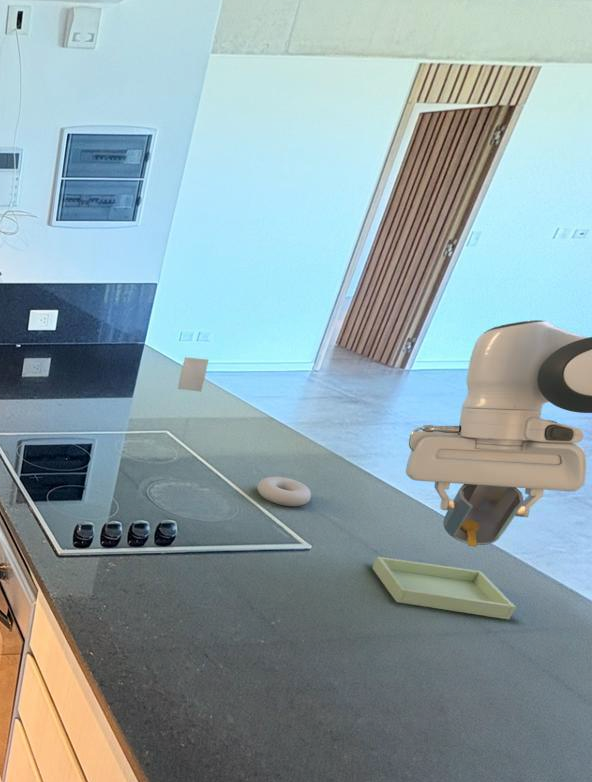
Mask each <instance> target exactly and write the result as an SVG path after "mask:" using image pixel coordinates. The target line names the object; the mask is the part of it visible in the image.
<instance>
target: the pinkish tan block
mask: <svg viewBox="0 0 592 782" xmlns="http://www.w3.org/2000/svg"><path fill="white" fill-rule="evenodd" d="M208 364H209V359H208V358H207V359H206V358H198V357H197V358H195V357H188V356H187V357H184V359H183V364H182V366H181V367H182V368H181V372H180V376H179V381H178V385H177V390H183V391H184V390H185V391H193V392H202V391H203V385H204V382H205V378H206V374H207V369H208Z"/></svg>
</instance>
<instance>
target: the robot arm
mask: <svg viewBox="0 0 592 782" xmlns="http://www.w3.org/2000/svg"><path fill="white" fill-rule="evenodd" d="M471 351H472V352H471V355H470V359H469V363H468V367H467V373H466V380H465V382H466V385H467V386H466V387H467V395H466V397H465V399H464V401H463V403H462V406H461V410H460V418H459V422H458V423H459V424H458V425H434V424H425V425H422V426H421V427H417V428H415V429H414V430H412V431H411V433H410V434H409V439H408V447H409V449H410V453H409V456H408V459H407V463H406V467H405V475H406V476H407V477H408V478H409V479H411V480H413V481H418V482H431V483H434V486H433V487H434V489H435V491H436V492H437V495H438V497H439V498H440V499H441V500H440V507H439V508H440V510H441V511H448V510H449V511H455V505H456V500H454V498H450V497H449V495H448V494H447V492H446V490H449V489H450V485H451V484H458V485H463V484H472V485H486V486H500V487H515V488H517V489H525V491H524V494H526V495H528V496H526V497H525V499H523V500H524V504H523V505H522V507H521V508H520V510H519V511H518V512H517V514H516V515H515V517H520V518H528V517H529V514H530V510H531V507H533V506H534V505H535V504H537V502H538V501H540V500H541V499H542V498H543V495H544V491H545V490H546V491H558V492H577V491H579V490H580V489H581V488H582V487H584V485H585V482H586V477H587V455H586V451H585V450H584V448H583V447H582V446H580V445H579V444H578V443H580V442H582V441H583V438H584V434H585V432H584V430H583V429H581V428H579V427H575V426H571V425H567V424H563V423H559V422H557V421H555V420H551V419H544V418H542V417H541V415H542V410H543V406H544V404H546V403H550V404H552V405H553V406H555V407H557V408H559V409H562V410H565V411H567V412H568V411H569V412H573V413H579V414H592V336H589V337H588V336H584V335H580V334H577V333H574V332H572V331H568V330H565V329H563V328H560V327H559V326H556V325H554V324H552V323H551V322H550V321H547V320H543V319H541V320H539V319H537V320H536V319H535V320H525V321H524V320H523V321H518V322H512V323H506V324H501V325H499V326H498V325H497V326H494V327H491V328H490V329H487V330H486V331H484V332H483V333H482V334H480V335H479V336H478V337H477V339H476V341H475V343H474V346H473V348H472V350H471Z"/></svg>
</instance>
